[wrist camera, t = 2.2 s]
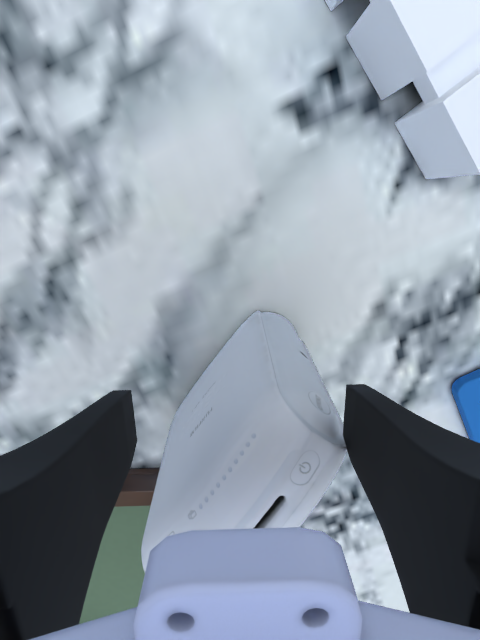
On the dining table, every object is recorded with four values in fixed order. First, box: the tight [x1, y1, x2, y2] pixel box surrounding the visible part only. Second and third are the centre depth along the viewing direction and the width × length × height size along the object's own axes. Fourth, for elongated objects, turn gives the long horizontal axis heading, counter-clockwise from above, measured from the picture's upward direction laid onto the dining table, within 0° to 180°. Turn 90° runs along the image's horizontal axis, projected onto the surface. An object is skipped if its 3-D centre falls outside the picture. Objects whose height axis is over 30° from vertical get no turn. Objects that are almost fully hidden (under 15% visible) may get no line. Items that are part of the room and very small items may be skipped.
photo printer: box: [141, 310, 347, 572], centre depth 19 cm, size 10×4×12 cm, turn 144°
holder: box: [79, 468, 160, 624], centre depth 28 cm, size 13×15×2 cm
